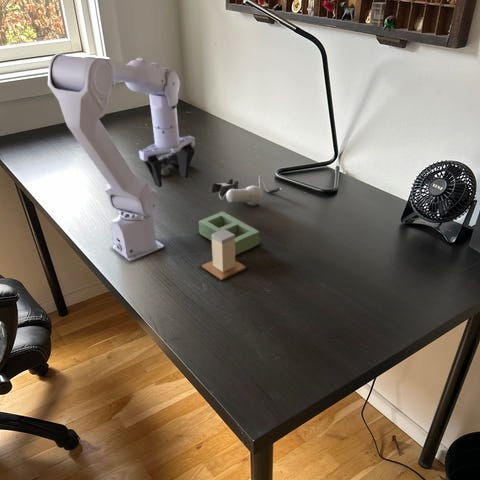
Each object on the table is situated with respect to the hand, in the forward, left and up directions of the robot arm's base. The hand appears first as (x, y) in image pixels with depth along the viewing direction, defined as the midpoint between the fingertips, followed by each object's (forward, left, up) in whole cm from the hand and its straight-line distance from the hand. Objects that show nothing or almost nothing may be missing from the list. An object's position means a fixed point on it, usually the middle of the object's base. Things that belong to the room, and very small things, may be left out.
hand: (171, 181), depth 121 cm
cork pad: (-5, -26, -10) cm, 29 cm away
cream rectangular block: (-5, -26, -10) cm, 28 cm away
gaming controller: (+18, +28, -11) cm, 35 cm away
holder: (+4, -17, -10) cm, 20 cm away
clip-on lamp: (+22, -4, -11) cm, 25 cm away
